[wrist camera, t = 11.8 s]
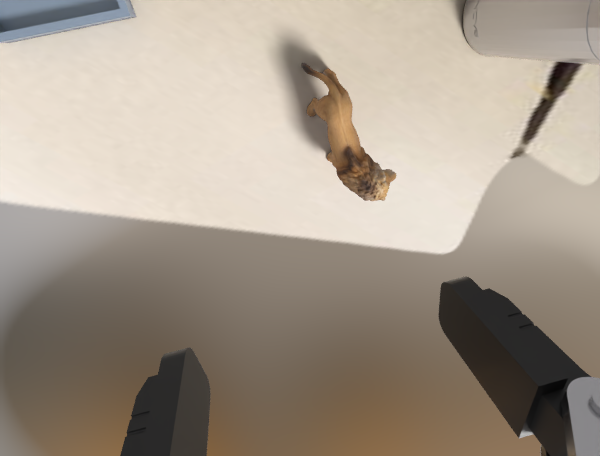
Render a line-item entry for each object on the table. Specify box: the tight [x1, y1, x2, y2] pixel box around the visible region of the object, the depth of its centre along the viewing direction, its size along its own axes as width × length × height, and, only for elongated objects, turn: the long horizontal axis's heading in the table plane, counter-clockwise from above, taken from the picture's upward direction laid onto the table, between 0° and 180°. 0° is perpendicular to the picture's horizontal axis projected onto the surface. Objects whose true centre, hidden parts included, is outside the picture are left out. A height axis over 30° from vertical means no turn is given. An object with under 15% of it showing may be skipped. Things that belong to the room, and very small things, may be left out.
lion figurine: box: [301, 63, 396, 201], centre depth 34 cm, size 15×5×9 cm, turn 30°
